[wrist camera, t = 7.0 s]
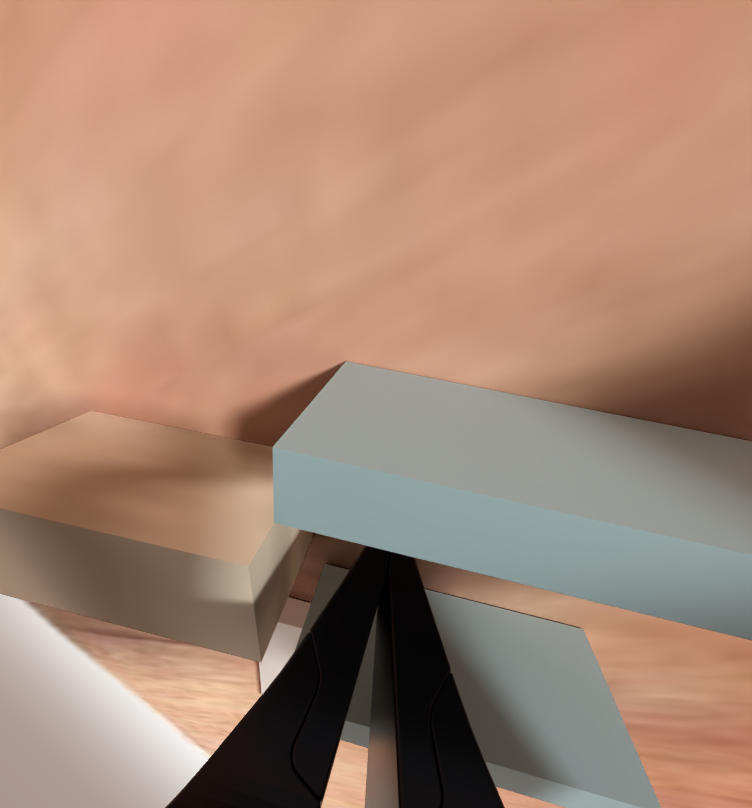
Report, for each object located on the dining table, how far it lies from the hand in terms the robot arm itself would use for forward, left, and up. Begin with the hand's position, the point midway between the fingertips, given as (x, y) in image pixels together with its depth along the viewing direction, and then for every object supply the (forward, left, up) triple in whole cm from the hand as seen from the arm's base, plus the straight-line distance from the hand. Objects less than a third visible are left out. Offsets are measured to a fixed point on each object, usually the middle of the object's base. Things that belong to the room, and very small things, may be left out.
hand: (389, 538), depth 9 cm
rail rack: (-3, 0, -1) cm, 3 cm away
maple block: (+7, +1, -1) cm, 7 cm away
